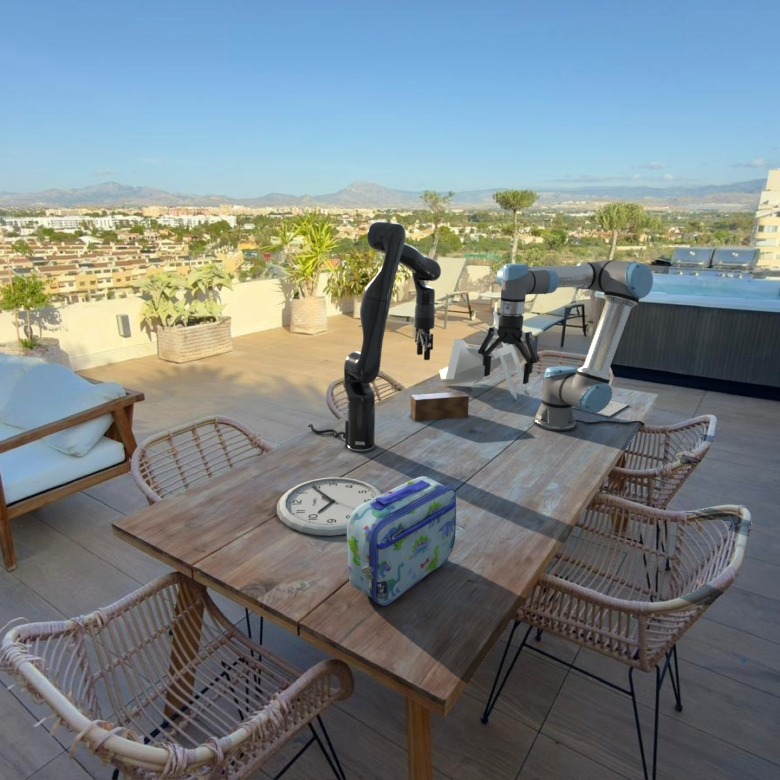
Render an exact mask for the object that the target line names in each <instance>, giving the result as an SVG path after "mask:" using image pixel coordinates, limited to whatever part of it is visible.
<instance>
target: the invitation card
mask: <svg viewBox="0 0 780 780" xmlns="http://www.w3.org/2000/svg"><path fill="white" fill-rule="evenodd" d="M628 406H629V404H627V403H623V402H618V401H614V400H610V402H609V404H608V405H607V406H606V407H605V408H604V409H603V410H601V411H600V412H597V413H595V414H596V415H600V416H604V417H608V418H609V417H611V416H613V415H614V414H616V413H617V412H619V411H621V410H623V409H624V408H626V407H628ZM573 409H575V410H579V409H578V408H576V407H573Z"/></svg>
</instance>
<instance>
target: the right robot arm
mask: <svg viewBox="0 0 780 780" xmlns="http://www.w3.org/2000/svg"><path fill="white" fill-rule="evenodd" d="M496 283H497V285H498V286H499V288H500V301H499V302H500V303H499V313H500V314H498V316H499V324H498V325H499V327H498V328H497V327H495V326H490V327H489V328H488V330H487V331H488V332H487V335H486V337H485V338H484V340H483V342H482V343H481V344H480V345H481V347H480V349H479V350H478V353H479V354H482V355H483V366H485V371H484V376H485V377H488V376H490V375H491V372H490V366H491V356H488V355H490V353H491V352H492V351H493V350H495V349H496V348H497V347H498V346H499V345H501V344H502V342H503V343H507V344H508V345H510V344H512V345H514V347H515V348H517V349H518V350H519V353H520V354H521V356H522V357H523V358H524V360H525V362H526V363H524V368H523V375H524V377H523V384H529V381H530V375H531V374H533V368H534V364H537V363H539V362H540V359H541V358H540V356H539V355H538V351H537V349H536V346H535V343H534V339H533V332H532V331H523V326H524V314H525V305H526V297H527V296H528V295H547V294H548V295H549V294H553V293H554V292H556V291H557V289H558V288H577V289H578V290H588V291H594V292H599V293H603V294H602V295H603V298H604V301H605V304H604V306H603V308H602V312H601V315H600V318H599V320H598V323H597V326H596V329H595V331H594V335H593V336H592V337H593V338H592V340H591V343H590V346H589V349H588V351H587V354H586V357H585V360H584V363H583V365H582V366H581V367H579V368H577V367H574V366H566V365H565V366H564V365H559V366H558V365H557V366H550V367H547V368H546V369H545V370H544V375H543V381H542V392H541V402H540V405H539V407H538V410H537V411H536V413H535V416H534V424H535V425H536V426H537V427H539V428H542V429H544V430H549V431H556V432H567V431H572V430H574V429H575V428H576V423H580V424H584V425H594V424H595V425H596V424H601V423H603V424H605V423H607V424H616V425H617V424H618V425H632V424H637V423H638V424H640V425H642V426H645V425H646V424H645V423H644V422H643V421H641V420H633V421H617V420H616V421H615V420H596V421H584V420H580V419H576V418H575V417H576V416H575V413H574V407H576V408H578V409H577V410H580V411H582V412H586V413H589V414H596V413H597V412H600V411H601V410H603V409H604V408H605V407H606V406H607V405H608V404H609V402H610V401H612V397H613V388H612V386H611V385H610V381H611V378H610V376H609V370H610V367H611V365H612V362H613V360H614V356H615V354H616V352H617V349H618V346H619V343H620V341H621V337H622V334H623V332H624V329H625V326H626V323H627V321H628V318H629V315H630V312H631V310H632V308H635V307H636V306H638V304H639V302H640V300H641V299H643V298H646V297H647V296H649V294H650V293H651V291H652V288H653V286H654V285H653V284H654V275H653V271H652V270H651V267H650V266H649V265H648V264H646V263H643V262H639V261H633V260H632V261H630V260H629V261H627V260H614V259H606V260H604V259H603V260H596V261H595V260H594V261H585V262H580V263H578V264H576V265H544V266H543V265H542V266H541V265H540V266H539V265H538V266H534V265H533V266H529V265H528V264H526V263H506V264H504V266H502V267H501V268H500V269H499V270H498V271H497V274H496ZM496 334H497V336H498V337H497V338H496V339H495V341H494V342H493V343H492V344H491V345H490V343H491V341H492V339H493V338H494V336H495V335H496ZM522 337H523V339H524V340H525V343H526V345H524V341H523V340H522ZM488 345H490V347H489V348H488V349H487V350H486V348H487V346H488ZM526 346H527V347H526ZM485 350H486V351H485ZM576 408H575V409H576Z"/></svg>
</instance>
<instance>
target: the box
mask: <svg viewBox="0 0 780 780" xmlns="http://www.w3.org/2000/svg"><path fill="white" fill-rule="evenodd" d="M469 403H470V395H469V394H467V393H466V392H465V391H451V392H436V393H421V394H420V393H419V394H411V395H410V417H411V419H412V420H413V421H414V422H422V421H432V420H433V421H434V420H435V421H436V420H446V419H457V418H459V419H460V418H468V417H469V405H470V404H469Z"/></svg>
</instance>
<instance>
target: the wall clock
mask: <svg viewBox="0 0 780 780" xmlns="http://www.w3.org/2000/svg"><path fill="white" fill-rule="evenodd" d="M381 494H384V492H382V491H381V490H380V489H379V488H377V487H376V486H374V485H372V484H371V483H369V482H365V481H362V480H359V479H355V478H349V477H338V476H337V477H335V476H333V477H332V476H331V477H322V478H317V479H312V480H307V481H305V482H302V483H299V484H297V485H295V486H293V487H292V488H290V489H288V490H287V491H286V492H285V493H284V494H283V495H281V496H280V498H279V499H278V502H277V503H276V515H277V517H278V518H279V520H280V521H281V522H282V523H283V524H285V525H286V526H287V527H288V528H290V529H293V530H295V531H297V532H299V533H303V534H308V535H312V536H327V537H328V536H329V537H331V536H332V537H333V536H342V535H347V525H348V521H349V518H350V516H351V514H352V513H353V511H354V510H355V509H356V508H357V507H358V506H360V505H362V504H363V503H365V502H368V501H370V500H372V499H374V498H376V497H378V496H380V495H381Z"/></svg>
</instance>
